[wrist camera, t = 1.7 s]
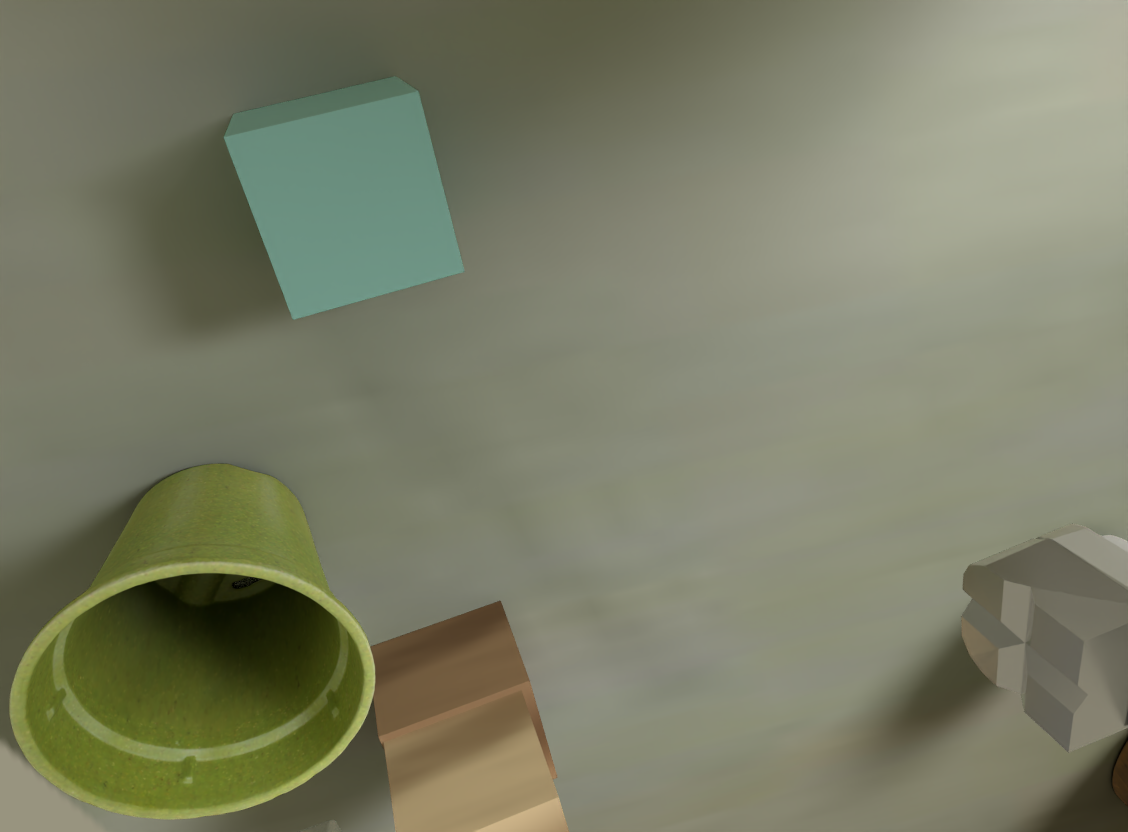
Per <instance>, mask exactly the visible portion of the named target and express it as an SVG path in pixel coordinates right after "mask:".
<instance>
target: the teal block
mask: <svg viewBox="0 0 1128 832" xmlns="http://www.w3.org/2000/svg"><path fill="white" fill-rule="evenodd" d="M224 140H225V142H226V145H227V148H228V150H229V153H230V156H231V158H232V161H233V164H234V166H235V169H236V171H237V174H238V177H239V179H240V182H241V185H242V187H243V190H244V192H245V195H246V198H247V200H248V203H249V206H250V208H251V211H252V213H253V216H254V219H255V221H256V224H257V227H258V229H259V232H260V235H261V237H262V240H263V242H264V245H265V248H266V250H267V253H268V256H269V258H270V261H271V263H272V266H273V269H274V271H275V274H276V277H277V279H278V282H279V284H280V287H281V290H282V292H283V295H284V298H285V300H286V303H287V305H288V308H289V311H290V313H291V316H292V319H293V320H294V319H298V318H302V317H305V316H309V315H312V314H316V313H319V312H323V311H327V310H330V309H334V308H337V307H341V306H344V305H348V304H352V303H355V302H359V301H362V300H366V299H369V298H373V297H377V296H380V295H384V294H387V293H391V292H394V291H398V290H402V289H405V288H409V287H412V286H416V285H419V284H423V283H427V282H430V281H434V280H437V279H441V278H444V277H448V276H452V275H455V274H459V273H462V272H465V271H464V267H463V263H462V259H461V255H460V251H459V247H458V244H457V240H456V236H455V232H454V228H453V224H452V220H451V216H450V212H449V208H448V204H447V201H446V197H445V193H444V189H443V185H442V181H441V177H440V173H439V169H438V165H437V162H436V158H435V154H434V150H433V146H432V142H431V138H430V134H429V130H428V126H427V122H426V119H425V115H424V111H423V107H422V103H421V99H420V95H419V91H418V90H416V89H415V88H413V87H411V86H410V85H408V84H407V83H405V82H404V81H402V80H401V79H399V78H398V77H396V76H394V77H390V78H386V79H381V80H377V81H373V82H368V83H364V84H360V85H356V86H351V87H347V88H343V89H338V90H334V91H330V92H325V93H321V94H317V95H313V96H308V97H304V98H300V99H295V100H291V101H287V102H282V103H278V104H274V105H270V106H265V107H261V108H257V109H252V110H248V111H244V112H239V113H235V114H233V116H232V119H231V121H230V123H229V126H228V128H227V130H226V133H225V135H224Z"/></svg>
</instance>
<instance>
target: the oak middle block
mask: <svg viewBox="0 0 1128 832" xmlns="http://www.w3.org/2000/svg"><path fill="white" fill-rule="evenodd" d="M384 749H385V756H386V763H387V771H388V778H389V785H390V793H391V800H392V807H393V815H394V822H395V829H396V832H569V830H568V827H567V823H566V820H565V817H564V814H563V810H562V807H561V804H560V800H559V797H558V794H557V791H556V788H555V785H554V783H553V780H552V777H551V774H550V771H549V768H548V765H547V762H546V759H545V757H544V754H543V751H542V748H541V745H540V742H539V739H538V736H537V734H536V731H535V728H534V725H533V722H532V719H531V716H530V713H529V711H528V708H527V705H526V702H525V699H524V696H523V693H522V690H520V691H518V692H515V693H512V694H510V695H507V696H504V697H502V698H499V699H497V700H494V701H491V702H489V703H486V704H483V705H481V706H478V707H475V708H473V709H470V710H468V711H465V712H462V713H460V714H457V715H454V716H452V717H449V718H446V719H444V720H441V721H439V722H436V723H433V724H431V725H428V726H425V727H423V728H420V729H417V730H415V731H412V732H410V733H407V734H404V735H402V736H399V737H396V738H394V739H391V740H388V741H386V742H384Z"/></svg>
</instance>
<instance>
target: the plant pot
mask: <svg viewBox="0 0 1128 832" xmlns="http://www.w3.org/2000/svg"><path fill="white" fill-rule="evenodd" d="M249 577H256V578H261V580H259V581H257V582H254V583H253V584H251V585H249V586H246V587H242V588H234V587H232V584H233V583H234V582H236V581H240V580H242V579H246V578H249ZM374 690H375V664H374V660H373V655H372V652H371V648H370V645H369V642H368V639H367V637H366V634H365V633H364V631H363V629H362V627H361V626H360V624H359V622H358V621H357V620H356V619H355V617H354V616H353V615H352V613H351V612H350V611H349V610H348V609H347V608H346V607H345V606H344V605H343V604H342V603H341V602H340V601H339V600H337V599H336V598H335V596H334V595H333V594H332V592H331V591H330V590H329V587H328V584H327V581H326V578H325V575H324V573H323V570H322V567H321V564H320V561H319V557H318V554H317V551H316V548H315V545H314V542H313V538H312V535H311V532H310V528H309V526H308V523H307V520H306V517H305V514H304V511H303V509H302V507H301V505H300V503H299V501H298V500H297V498H296V497H295V496H294V494H293V493H292V492H291V491H290V490H289V489H288V488H287V487H286V486H285V485H283V484H282V483H281V482H280V481H278V480H277V479H275V478H274V477H272V476H269V475H266V474H262V473H258V472H254V471H250V470H247V469H243V468H240V467H236V466H233V465H230V464H208V465H201V466H197V467H192V468H189V469H186V470H183V471H180V472H178V473H176V474H173V475H171V476H169V477H168V478H166V479H164V480H162V481H161V482H159V483H158V484H157V485H155V486H154V487H153V488H152V489H150V490H149V491H148V492H147V493H146V494H145V496H144V497H143V498H142V499H141V501H140V502H139V503H138V505H137V507H136V508H135V510H134V511H133V513H132V515H131V517H130V519H129V521H128V523H127V525H126V526H125V528H124V530H123V532H122V533H121V535H120V537H119V538H118V540H117V542H116V544H115V545H114V547H113V549H112V551H111V552H110V554H109V556H108V557H107V559H106V561H105V562H104V564H103V566H102V567H101V569H100V571H99V573H98V574H97V576H96V578H95V579H94V581H93V583H92V584H91V586H90V588H89V589H87V590H86V591H85V592H84V593H83V594H82V595H80V596H79V597H77V598H76V599H75V600H73V601H72V602H71V603H69V604H68V605H66V606H65V607H64V608H63V609H61V610H60V611H59V612H58V613H57V614H56V615H55V616H54V617H53V618H52V619H51V620H50V621H49V622H48V623H47V624H46V625H45V626H44V627H43V628H42V629H41V630H40V631H39V633H38V634H37V635H36V637H35V638H34V639H33V641H32V642H31V644H30V645H29V647H28V649H27V650H26V652H25V653H24V655H23V658H22V660H21V662H20V664H19V666H18V668H17V671H16V674H15V677H14V680H13V683H12V687H11V692H10V700H9V714H10V721H11V725H12V729H13V732H14V735H15V738H16V740H17V742H18V745H19V746H20V748H21V750H22V752H23V753H24V755H25V757H26V758H27V760H28V761H29V762H30V764H31V765H32V767H33V768H34V769H35V770H37V771H38V772H39V773H40V774H41V775H42V776H43V777H45V778H46V779H47V780H48V781H50V782H51V783H52V784H53V785H55V786H56V787H58V788H59V789H60V790H62V791H63V792H65V793H66V794H68V795H70V796H72V797H74V798H76V799H79V800H80V801H82V802H87V803H89V804H91V805H93V806H96V807H99V808H102V809H104V810H106V811H111V812H114V813H119V814H123V815H128V816H135V817H142V818H152V819H166V820H173V819H189V818H198V817H202V816H212V815H219V814H225V813H229V812H235V811H239V810H243V809H247V808H250V807H253V806H255V805H258V804H261V803H264V802H266V801H269V800H271V799H273V798H275V797H277V796H279V795H281V794H284V793H287V792H289V791H291V790H293V789H294V788H296V787H298V786H299V785H301V784H303V783H305V782H306V781H308V780H309V779H310V778H311V777H313V776H314V775H315V774H317V773H319V772H320V771H321V770H323V769H324V768H326V767H327V766H328V765H329V764H331V763H332V762H333V761H334V760H335V759H336V758H337V757H338V756H339V755H340V754H341V753H342V752H343V751H344V749H345V748H346V747H347V745H348V744H349V743H350V741H351V740H352V739H353V738H354V736H355V735H356V733H357V732H358V731H359V729H360V728H361V726H362V724H363V722H364V720H365V718H366V716H367V714H368V711H369V708H370V705H371V702H372V699H373V695H374Z"/></svg>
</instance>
